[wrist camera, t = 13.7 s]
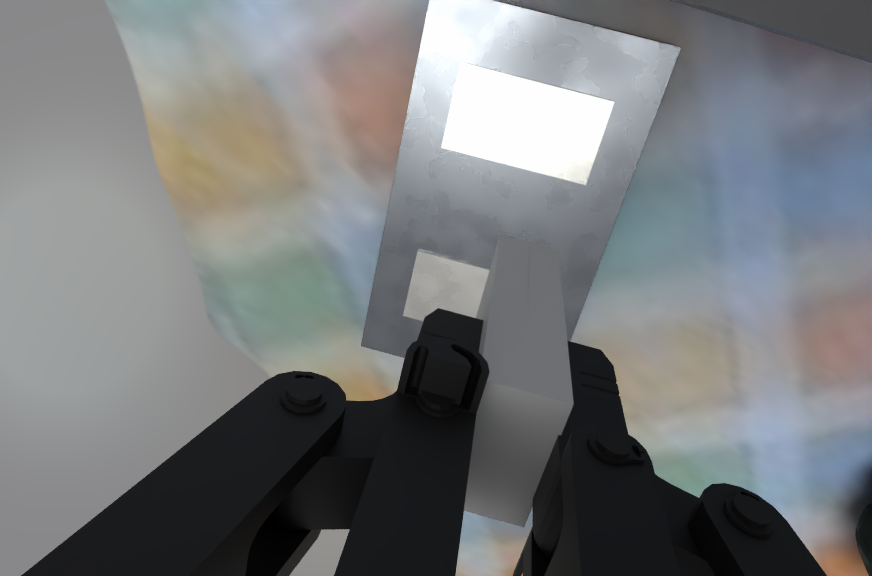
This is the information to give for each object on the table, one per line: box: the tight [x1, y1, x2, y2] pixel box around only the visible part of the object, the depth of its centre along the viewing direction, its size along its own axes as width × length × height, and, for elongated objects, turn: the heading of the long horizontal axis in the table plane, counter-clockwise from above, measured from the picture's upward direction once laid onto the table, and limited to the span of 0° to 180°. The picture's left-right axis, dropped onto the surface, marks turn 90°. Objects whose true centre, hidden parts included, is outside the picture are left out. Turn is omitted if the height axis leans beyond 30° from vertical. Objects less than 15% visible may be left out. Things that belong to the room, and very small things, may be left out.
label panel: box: [361, 0, 681, 358], centre depth 35 cm, size 14×30×8 cm, turn 167°
